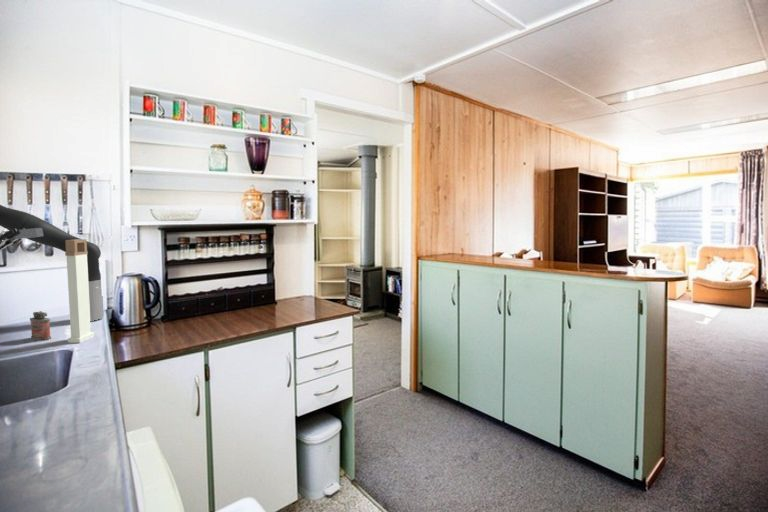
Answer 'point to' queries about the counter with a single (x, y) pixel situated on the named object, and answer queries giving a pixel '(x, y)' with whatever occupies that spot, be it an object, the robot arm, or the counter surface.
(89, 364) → the counter surface
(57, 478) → the counter surface
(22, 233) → the steel bar
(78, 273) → the stand
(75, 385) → the counter surface
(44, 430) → the counter surface
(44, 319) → the lighter
